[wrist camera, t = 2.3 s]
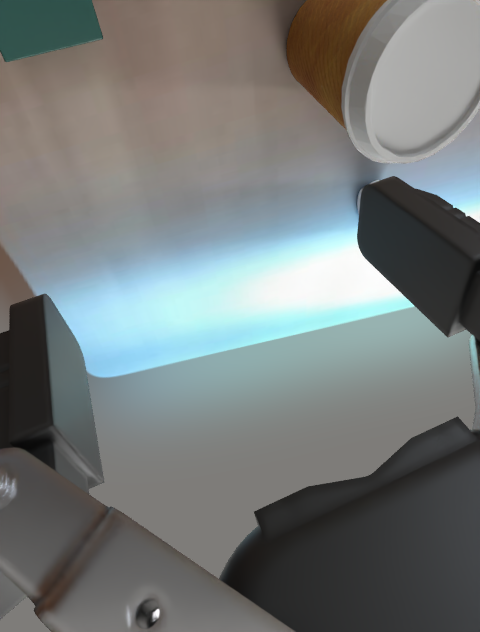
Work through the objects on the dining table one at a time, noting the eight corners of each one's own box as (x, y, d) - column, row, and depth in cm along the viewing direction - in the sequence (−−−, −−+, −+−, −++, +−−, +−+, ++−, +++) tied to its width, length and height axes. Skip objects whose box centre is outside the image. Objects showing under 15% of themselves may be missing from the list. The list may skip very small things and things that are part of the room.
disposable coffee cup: (357, 112, 36) (458, 169, 28) (255, 108, 32) (336, 173, 24) (399, -32, 30) (544, -13, 22) (279, -55, 26) (397, -42, 18)
